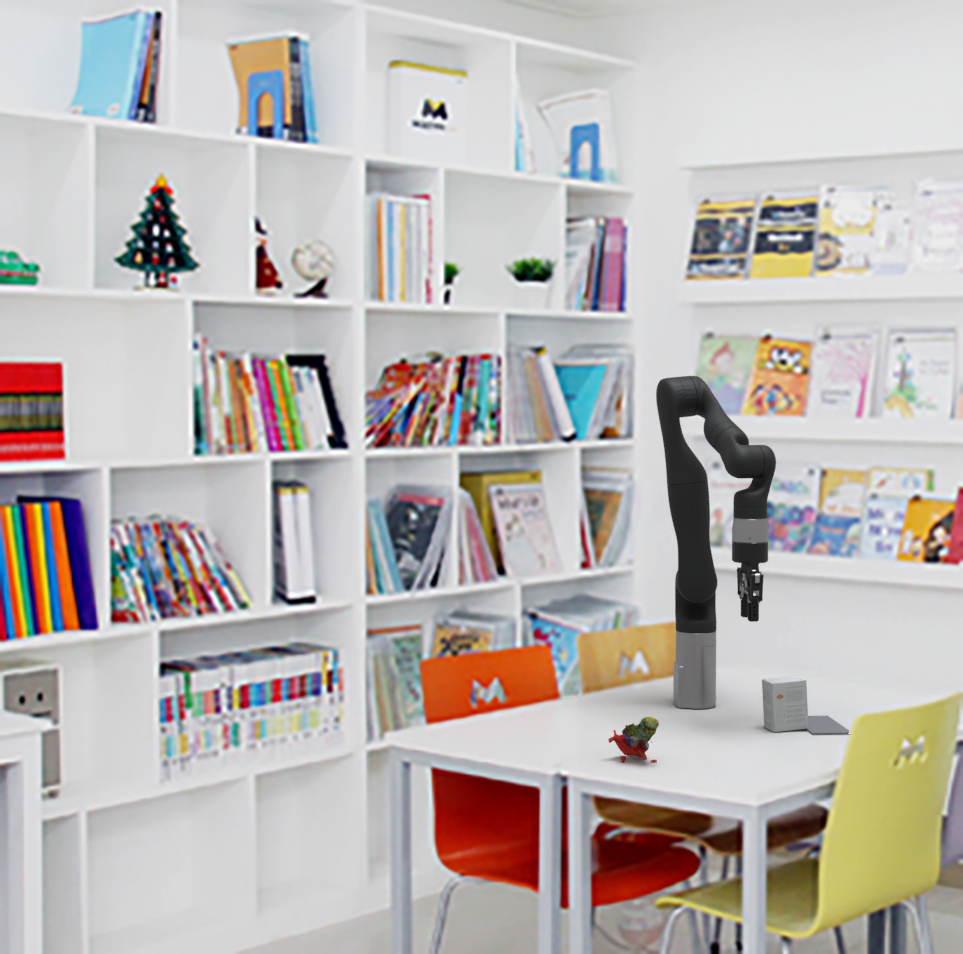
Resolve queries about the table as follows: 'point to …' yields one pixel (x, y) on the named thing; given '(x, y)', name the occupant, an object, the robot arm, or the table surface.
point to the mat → (825, 726)
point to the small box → (785, 703)
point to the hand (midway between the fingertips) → (749, 618)
